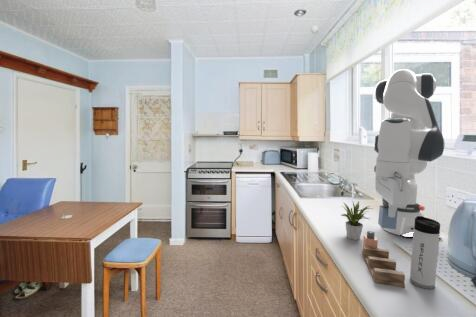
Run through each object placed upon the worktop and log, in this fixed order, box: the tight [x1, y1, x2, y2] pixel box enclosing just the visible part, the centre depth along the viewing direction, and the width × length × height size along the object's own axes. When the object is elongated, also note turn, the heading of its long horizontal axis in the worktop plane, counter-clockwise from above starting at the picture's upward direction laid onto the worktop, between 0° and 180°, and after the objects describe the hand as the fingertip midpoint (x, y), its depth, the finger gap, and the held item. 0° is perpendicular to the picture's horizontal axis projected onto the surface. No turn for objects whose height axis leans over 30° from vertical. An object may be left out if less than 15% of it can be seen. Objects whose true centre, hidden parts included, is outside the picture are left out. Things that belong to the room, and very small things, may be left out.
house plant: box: [340, 200, 374, 241], centre depth 110 cm, size 14×14×16 cm
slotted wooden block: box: [362, 245, 406, 288], centre depth 86 cm, size 8×19×4 cm, turn 164°
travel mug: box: [409, 216, 441, 290], centre depth 77 cm, size 6×7×20 cm
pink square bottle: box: [362, 230, 379, 248], centre depth 98 cm, size 4×4×8 cm
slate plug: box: [377, 200, 398, 229], centre depth 80 cm, size 4×4×8 cm
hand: (388, 214), depth 80 cm, fingers closed on slate plug, 4 cm apart
